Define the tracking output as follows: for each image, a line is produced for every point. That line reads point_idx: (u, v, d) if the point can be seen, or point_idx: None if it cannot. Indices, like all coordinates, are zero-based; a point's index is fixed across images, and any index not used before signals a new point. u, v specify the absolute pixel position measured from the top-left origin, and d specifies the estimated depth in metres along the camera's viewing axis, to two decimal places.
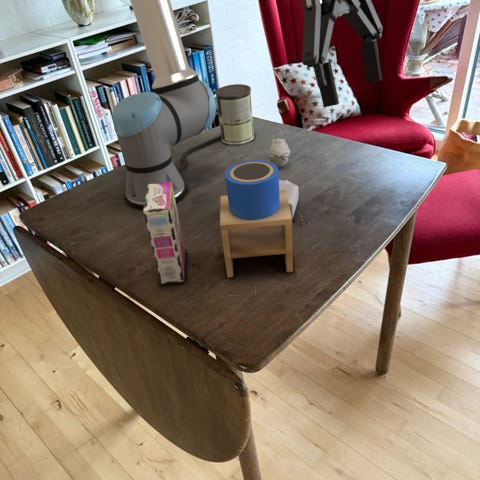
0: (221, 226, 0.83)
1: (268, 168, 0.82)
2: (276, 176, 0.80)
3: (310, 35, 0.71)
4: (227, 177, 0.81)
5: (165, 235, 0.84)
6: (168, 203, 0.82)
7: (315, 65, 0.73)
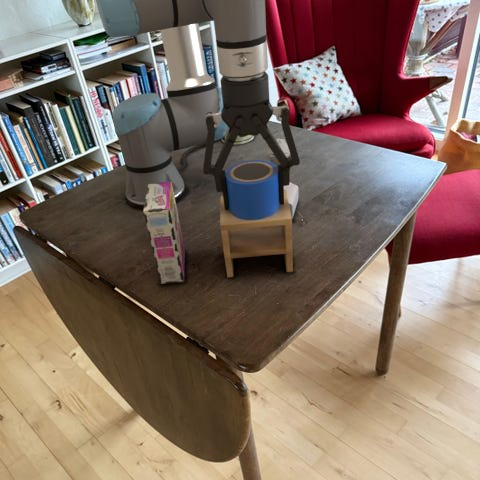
0: (221, 226, 0.83)
1: (268, 168, 0.82)
2: (276, 176, 0.80)
3: (205, 151, 0.79)
4: (227, 177, 0.81)
5: (165, 235, 0.84)
6: (168, 203, 0.82)
7: None
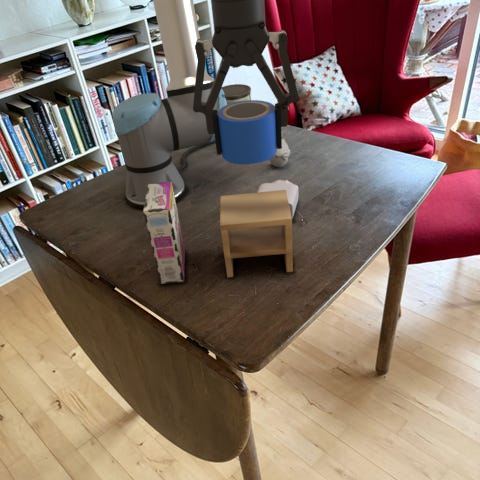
0: (221, 226, 0.83)
1: (264, 107, 0.75)
2: (273, 114, 0.73)
3: (195, 85, 0.72)
4: (219, 116, 0.74)
5: (165, 235, 0.84)
6: (168, 203, 0.82)
7: None
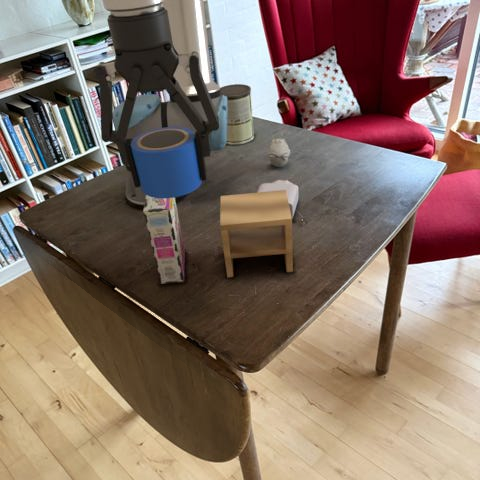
0: (221, 226, 0.83)
1: (183, 135, 0.67)
2: (191, 144, 0.65)
3: None
4: (132, 145, 0.66)
5: (165, 235, 0.84)
6: (168, 203, 0.82)
7: None
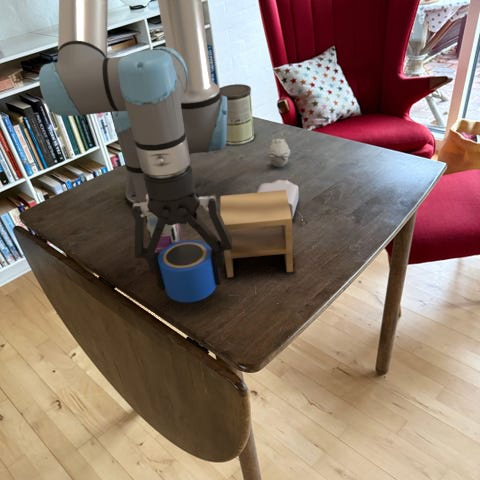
0: None
1: (201, 252, 0.81)
2: (208, 261, 0.79)
3: None
4: (159, 261, 0.80)
5: (165, 235, 0.84)
6: None
7: None
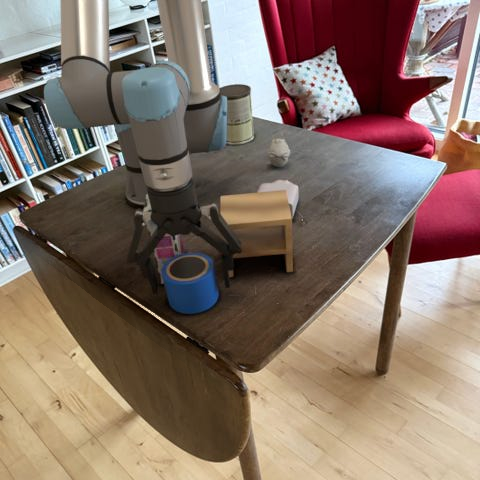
0: None
1: (204, 264, 0.83)
2: (210, 274, 0.81)
3: None
4: (163, 274, 0.82)
5: (165, 235, 0.84)
6: None
7: None
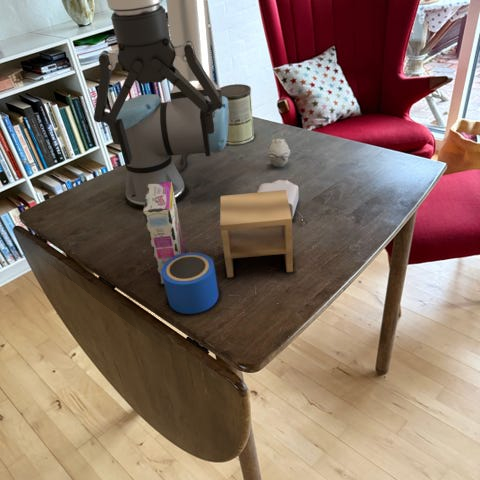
0: (221, 226, 0.83)
1: (204, 264, 0.83)
2: (210, 274, 0.81)
3: None
4: (163, 274, 0.82)
5: (165, 235, 0.84)
6: (168, 203, 0.82)
7: None
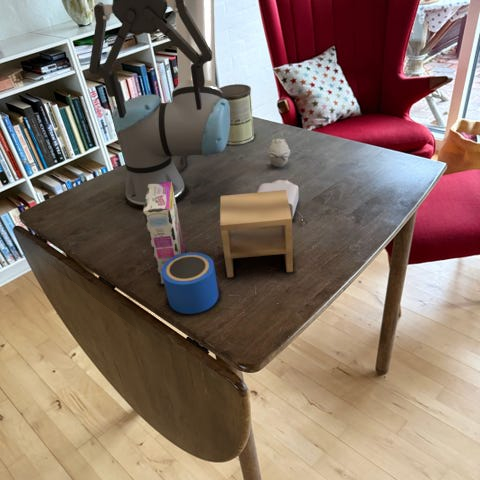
0: (221, 226, 0.83)
1: (204, 264, 0.83)
2: (210, 274, 0.81)
3: None
4: (163, 274, 0.82)
5: (165, 235, 0.84)
6: (168, 203, 0.82)
7: None
